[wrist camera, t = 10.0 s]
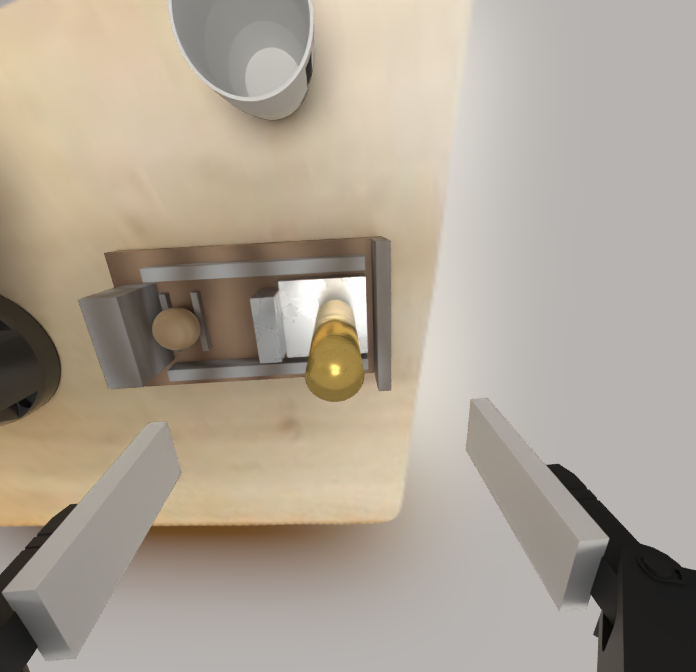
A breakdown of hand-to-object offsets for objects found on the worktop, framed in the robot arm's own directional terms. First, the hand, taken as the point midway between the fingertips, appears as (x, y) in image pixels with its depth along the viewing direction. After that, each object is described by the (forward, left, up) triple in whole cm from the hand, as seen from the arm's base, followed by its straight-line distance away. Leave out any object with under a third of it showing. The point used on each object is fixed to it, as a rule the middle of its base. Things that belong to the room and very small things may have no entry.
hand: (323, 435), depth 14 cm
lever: (-2, 0, -20) cm, 20 cm away
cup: (-4, +20, -22) cm, 30 cm away
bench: (-8, 0, -22) cm, 23 cm away
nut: (-14, 0, -19) cm, 24 cm away
